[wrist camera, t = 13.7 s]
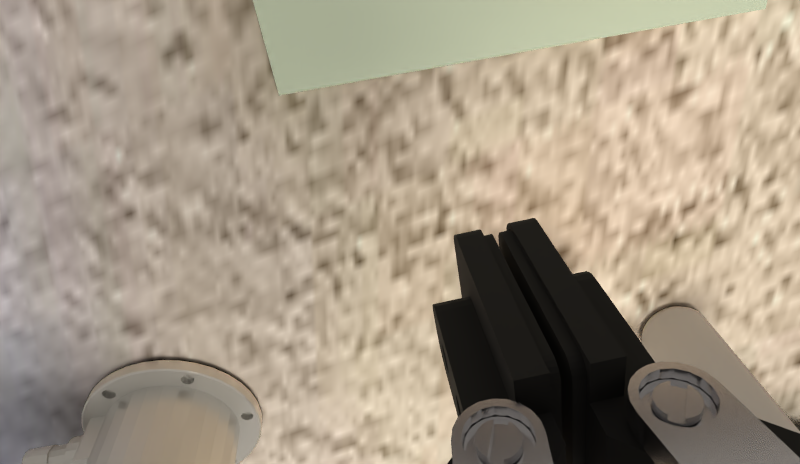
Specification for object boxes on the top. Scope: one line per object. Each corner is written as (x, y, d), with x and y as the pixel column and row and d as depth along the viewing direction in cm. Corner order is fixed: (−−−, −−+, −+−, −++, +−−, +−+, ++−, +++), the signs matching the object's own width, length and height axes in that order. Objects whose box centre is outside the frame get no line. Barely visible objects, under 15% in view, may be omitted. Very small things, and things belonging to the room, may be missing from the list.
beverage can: (639, 309, 41) (738, 451, 31) (703, 295, 41) (823, 433, 31) (636, 354, 44) (726, 497, 34) (696, 340, 44) (805, 481, 34)
